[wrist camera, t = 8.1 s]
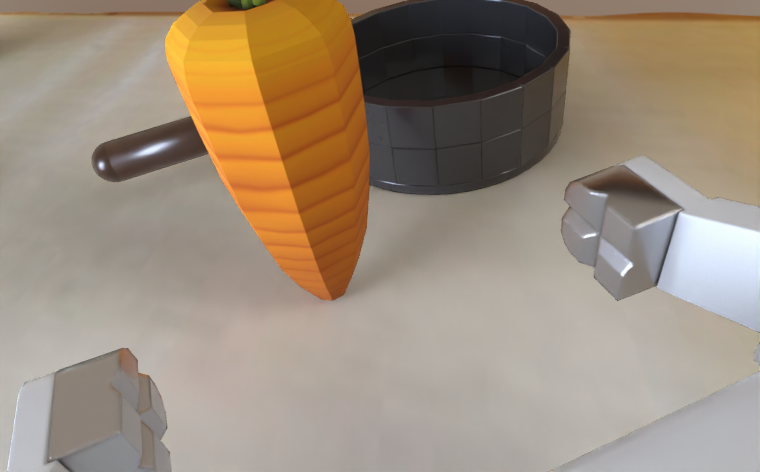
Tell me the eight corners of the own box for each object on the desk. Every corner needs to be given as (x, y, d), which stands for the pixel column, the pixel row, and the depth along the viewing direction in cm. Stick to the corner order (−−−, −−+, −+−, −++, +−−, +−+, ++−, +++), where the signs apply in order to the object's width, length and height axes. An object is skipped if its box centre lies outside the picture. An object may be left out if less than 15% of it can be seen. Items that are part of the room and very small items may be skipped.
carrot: (387, 241, 23) (307, -215, 13) (408, 334, 19) (320, -203, 9) (270, 265, 23) (100, -177, 13) (270, 362, 19) (32, -149, 9)
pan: (377, 228, 24) (360, 139, 21) (304, 108, 33) (285, 34, 30) (615, 141, 26) (631, 50, 23) (486, 51, 35) (486, -23, 32)
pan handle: (103, 195, 24) (82, 161, 23) (103, 174, 25) (84, 140, 24) (341, 118, 26) (334, 84, 25) (330, 102, 27) (323, 69, 26)
